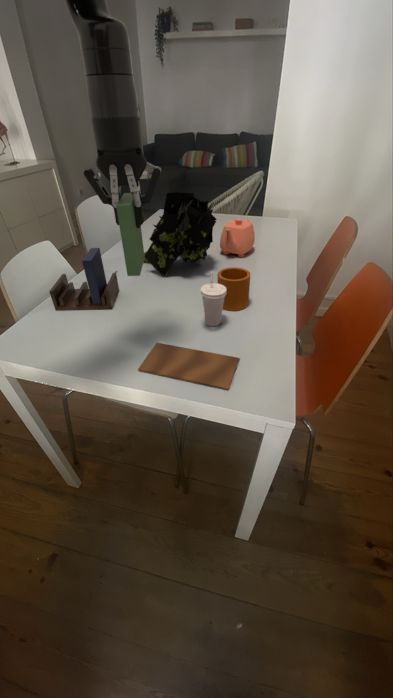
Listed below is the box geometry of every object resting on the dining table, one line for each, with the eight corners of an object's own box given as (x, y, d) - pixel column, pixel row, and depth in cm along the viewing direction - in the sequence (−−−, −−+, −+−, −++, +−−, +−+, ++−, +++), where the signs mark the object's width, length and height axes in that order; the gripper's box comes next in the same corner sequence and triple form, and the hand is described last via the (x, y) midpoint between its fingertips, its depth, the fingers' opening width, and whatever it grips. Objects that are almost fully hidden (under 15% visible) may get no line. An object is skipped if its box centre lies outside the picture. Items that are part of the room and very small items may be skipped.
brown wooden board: (138, 371, 68) (137, 369, 68) (156, 344, 76) (156, 342, 76) (228, 390, 63) (228, 388, 63) (239, 359, 71) (239, 357, 70)
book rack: (55, 310, 89) (49, 291, 85) (67, 292, 98) (62, 273, 94) (112, 309, 89) (108, 290, 85) (119, 291, 98) (116, 272, 94)
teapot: (231, 241, 130) (233, 210, 122) (259, 246, 125) (263, 214, 118) (210, 259, 116) (210, 225, 109) (240, 264, 112) (243, 230, 104)
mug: (259, 297, 93) (262, 268, 88) (237, 314, 86) (239, 284, 80) (233, 288, 98) (235, 260, 92) (210, 304, 90) (211, 275, 85)
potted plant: (129, 276, 109) (147, 202, 84) (150, 237, 121) (171, 163, 97) (186, 302, 112) (219, 238, 88) (201, 261, 125) (234, 195, 100)
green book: (127, 276, 62) (115, 205, 54) (133, 258, 69) (124, 193, 61) (139, 275, 62) (130, 204, 54) (144, 257, 69) (136, 192, 61)
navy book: (93, 304, 89) (81, 260, 81) (100, 289, 96) (90, 247, 88) (101, 304, 89) (91, 260, 81) (108, 289, 96) (99, 247, 88)
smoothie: (205, 314, 86) (205, 265, 78) (228, 318, 84) (230, 268, 76) (197, 326, 82) (196, 276, 73) (221, 331, 80) (223, 279, 71)
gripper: (63, 116, 47) (89, 234, 57) (157, 113, 47) (166, 232, 58) (77, 114, 53) (98, 222, 63) (161, 112, 53) (168, 220, 63)
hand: (131, 226), depth 60 cm, fingers closed on green book, 2 cm apart
